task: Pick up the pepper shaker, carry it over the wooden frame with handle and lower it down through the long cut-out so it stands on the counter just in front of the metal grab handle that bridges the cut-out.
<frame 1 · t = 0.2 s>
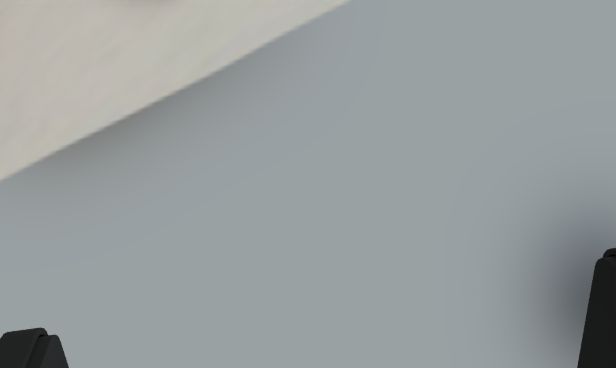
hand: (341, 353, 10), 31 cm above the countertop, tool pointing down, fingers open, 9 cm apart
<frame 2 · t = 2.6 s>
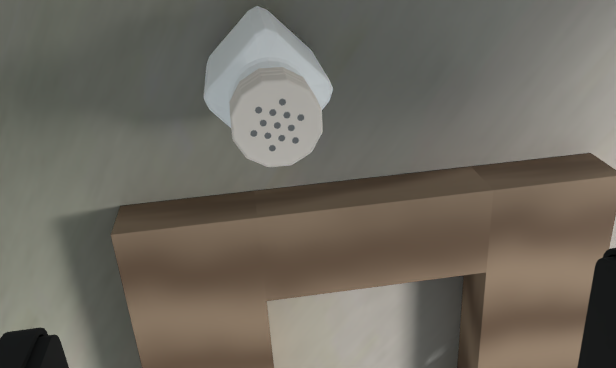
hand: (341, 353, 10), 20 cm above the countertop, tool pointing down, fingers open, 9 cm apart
pepper shaker: (260, 58, 29), on the countertop
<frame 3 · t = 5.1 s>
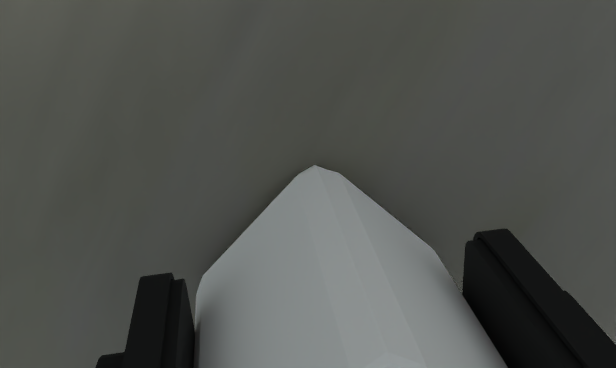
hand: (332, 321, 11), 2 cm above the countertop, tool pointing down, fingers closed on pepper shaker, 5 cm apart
pepper shaker: (315, 259, 13), on the countertop, touching gripper
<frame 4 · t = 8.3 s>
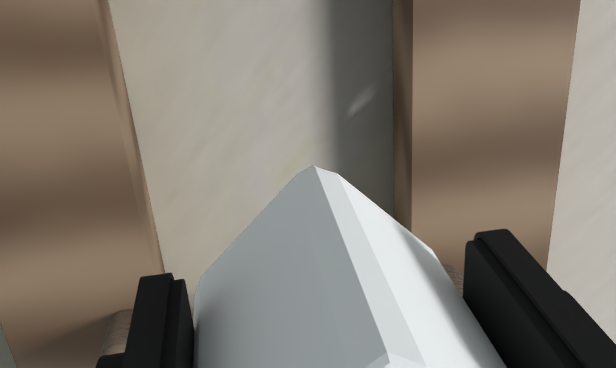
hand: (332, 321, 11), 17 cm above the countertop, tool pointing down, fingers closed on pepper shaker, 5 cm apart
wooden frame with handle: (270, 145, 28), on the countertop
metal grab handle: (298, 352, 25), on the wooden frame with handle, point 6 cm above the countertop
pepper shaker: (313, 259, 13), point 15 cm above the countertop, touching gripper
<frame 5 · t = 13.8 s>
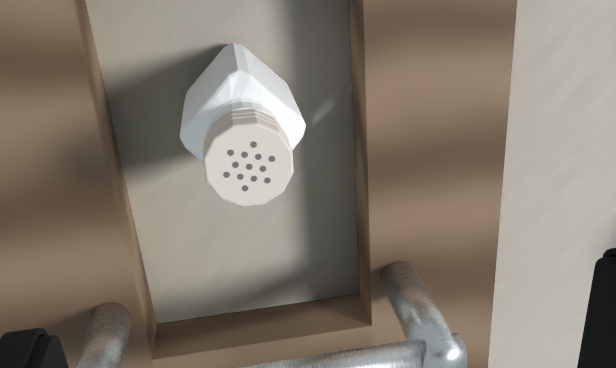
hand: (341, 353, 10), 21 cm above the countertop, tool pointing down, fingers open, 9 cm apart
wooden frame with handle: (240, 151, 30), on the countertop
metal grab handle: (264, 340, 28), on the wooden frame with handle, point 6 cm above the countertop
pepper shaker: (237, 91, 29), resting in wooden frame with handle
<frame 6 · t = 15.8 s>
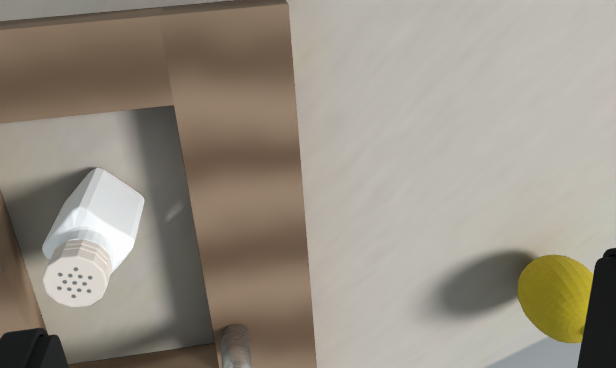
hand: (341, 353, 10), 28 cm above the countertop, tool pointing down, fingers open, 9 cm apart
wooden frame with handle: (112, 241, 40), on the countertop
lemon: (533, 265, 46), on the countertop
pepper shaker: (106, 198, 39), resting in wooden frame with handle
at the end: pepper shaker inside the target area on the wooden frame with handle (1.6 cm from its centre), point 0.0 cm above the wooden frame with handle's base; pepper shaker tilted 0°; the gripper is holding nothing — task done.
